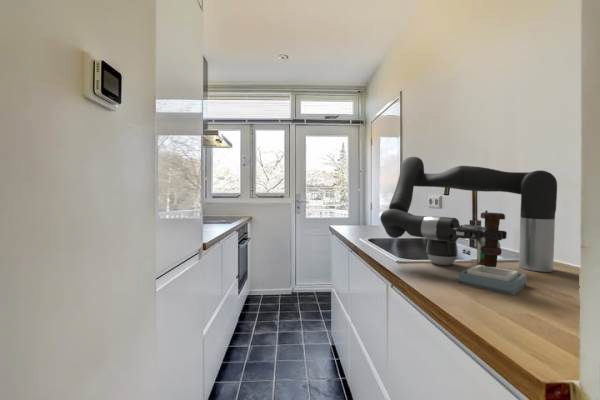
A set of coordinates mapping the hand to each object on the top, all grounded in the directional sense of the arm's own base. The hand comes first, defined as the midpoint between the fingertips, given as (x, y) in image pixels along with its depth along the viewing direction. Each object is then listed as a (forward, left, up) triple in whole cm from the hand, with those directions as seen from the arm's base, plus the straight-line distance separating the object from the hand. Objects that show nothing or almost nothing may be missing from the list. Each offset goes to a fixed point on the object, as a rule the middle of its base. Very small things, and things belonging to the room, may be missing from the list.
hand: (503, 235), depth 82 cm
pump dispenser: (-14, -22, -14) cm, 30 cm away
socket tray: (0, -2, -14) cm, 14 cm away
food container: (-18, -8, -14) cm, 25 cm away
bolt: (0, -3, -9) cm, 10 cm away
